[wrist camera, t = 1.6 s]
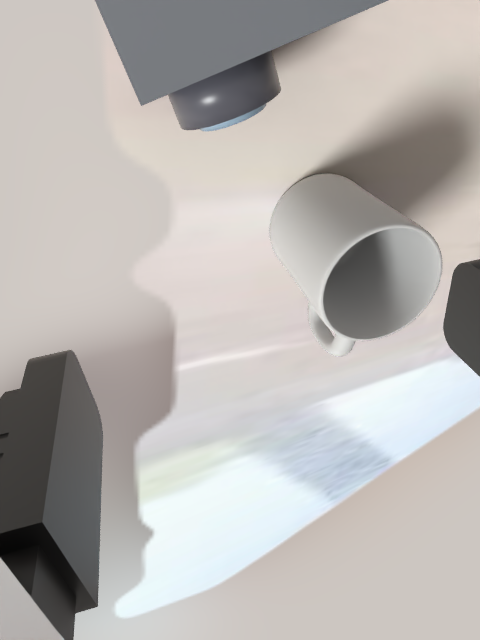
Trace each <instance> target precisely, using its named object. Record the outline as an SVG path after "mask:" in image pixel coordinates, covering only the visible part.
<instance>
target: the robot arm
mask: <svg viewBox="0 0 480 640" xmlns="http://www.w3.org/2000/svg"><path fill="white" fill-rule="evenodd" d="M443 329H444V335H445V338H446V341H447V343H448V345H449V346H450V348H451V349H452V350H453V351H454V352H455V353H456V354H457V355H458V356H459V357H460V358H461V359H462V360H463V361H464V362H465V363H466V364H467V365H468V366H469V367H470V368H471V369H472V370H473V371H474V372H475V373H477V374H478V375H479V376H480V259H479V260H474V261H470V262H465V263H461V264H459V265H458V266H457V267H456V268H455V270H454V272H453V276H452V281H451V287H450V292H449V297H448V302H447V308H446V313H445V318H444V325H443ZM102 448H103V431H102V423H101V419H100V414H99V411H98V408H97V405H96V403H95V400H94V398H93V395H92V393H91V390H90V388H89V386H88V383H87V381H86V379H85V376H84V374H83V371H82V369H81V366H80V364H79V362H78V359H77V357H76V355H75V354H74V352H73V351H71V350H68V351H63V352H59V353H54V354H50V355H45V356H41V357H36V358H32V359H30V360H29V361H28V363H27V366H26V369H25V373H24V377H23V381H22V385H21V388H20V389H17V390H13V391H8V392H5V393H4V394H3V395H2V397H1V398H0V640H73V636H74V622H75V613H78V612H81V611H85V610H88V609H91V608H95V607H97V606H98V580H99V547H100V513H101V481H102Z"/></svg>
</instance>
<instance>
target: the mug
mask: <svg viewBox="0 0 480 640" xmlns="http://www.w3.org/2000/svg"><path fill="white" fill-rule="evenodd" d="M269 236H270V242H271V246H272V249H273V251H274V253H275V255H276V257H277V258H278V260H279V261H280V262H281V264H282V265H283V266H284V268H285V269H286V270H287V271H288V273H289V274H290V275H291V277H292V278H293V280H294V281H295V283H296V284H297V285H298V287H299V288H300V290H301V291H302V292H303V294H304V295H305V297H306V298H307V300H308V301H309V303H308V321H309V324H310V327H311V330H312V332H313V334H314V336H315V338H316V340H317V341H318V343H319V344H320V345H321V347H322V348H323V349H324V350H325V351H326V352H327V353H329V354H331V355H333V356H336V357H341V356H345V355H347V354H348V353H349V352H350V351H351V350H352V348H353V346H354V343H355V341H370V340H376V339H380V338H383V337H386V336H389V335H391V334H393V333H395V332H397V331H399V330H401V329H402V328H404V327H406V326H407V325H408V324H410V323H411V322H412V321H413V320H414V319H416V318H417V317H418V316H419V315H420V314H421V313H422V311H423V310H424V309H425V308H426V307H427V305H428V304H429V303H430V301H431V299H432V298H433V296H434V294H435V292H436V290H437V288H438V285H439V282H440V278H441V274H442V256H441V251H440V249H439V246H438V244H437V242H436V241H435V239H434V238H433V237H432V236H431V234H430V233H429V232H428V231H426V230H425V229H424V228H422V227H421V226H420V225H418V224H417V223H415V222H413V221H412V220H410V219H409V218H407V217H406V216H404V215H403V214H401V213H400V212H398V211H396V210H395V209H393V208H392V207H390V206H389V205H387V204H386V203H384V202H383V201H381V200H380V199H378V198H376V197H375V196H373V195H372V194H370V193H369V192H367V191H366V190H364V189H363V188H362V187H360V186H359V185H357V184H356V183H355V182H353V181H352V180H350V179H348V178H346V177H344V176H341V175H337V174H326V173H323V174H316V175H313V176H309V177H307V178H305V179H303V180H301V181H299V182H297V183H296V184H295V185H293V186H292V187H291V188H290V189H289V190H287V191H286V192H285V194H284V195H283V196H282V197H281V199H280V200H279V202H278V203H277V205H276V207H275V209H274V211H273V214H272V217H271V221H270V228H269ZM330 330H331V331H333V332H334V333H335V337H334V336H333V335H332V333H331V331H330Z"/></svg>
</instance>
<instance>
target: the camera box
mask: <svg viewBox="0 0 480 640" xmlns="http://www.w3.org/2000/svg"><path fill="white" fill-rule="evenodd" d="M95 1H96V4H97V6H98V8H99V10H100V13H101V15H102V17H103V20H104V22H105V24H106V26H107V29H108V31H109V33H110V36H111V38H112V40H113V42H114V45H115V47H116V49H117V52H118V54H119V56H120V58H121V61H122V63H123V65H124V68H125V70H126V72H127V75H128V77H129V79H130V81H131V84H132V86H133V88H134V91H135V93H136V95H137V97H138V100H139V102H140V104H141V106H142V105H144V104H147V103H149V102H151V101H154V100H156V99H158V98H161V97H163V96H165V95H168V96H169V99H170V101H171V104H172V106H173V109H174V111H175V114H176V116H177V119H178V121H179V124H180V126H181V128H182V129H184V130H196V129H200V130H202V131H213V130H218V129H222V128H226V127H229V126H232V125H234V124H237V123H239V122H242V121H244V120H246V119H248V118H250V117H252V116H254V115H255V114H257V113H259V112H260V111H261V110H263V109H264V108H265V106H266V103H267V102H269V101H270V100H272V99H273V98H274V97H276V96H277V95H278V94H279V93H280V91H281V87H280V83H279V79H278V75H277V71H276V67H275V63H274V59H273V55H272V51H271V50H273V49H276V48H278V47H280V46H283V45H285V44H287V43H290V42H292V41H294V40H297V39H299V38H301V37H304V36H306V35H308V34H311V33H313V32H315V31H318V30H320V29H322V28H325V27H327V26H329V25H332V24H334V23H336V22H339V21H341V20H343V19H346V18H348V17H350V16H353V15H355V14H357V13H360V12H362V11H365V10H367V9H369V8H372V7H374V6H376V5H379V4H381V3H383V2H386V1H388V0H95Z"/></svg>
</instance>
